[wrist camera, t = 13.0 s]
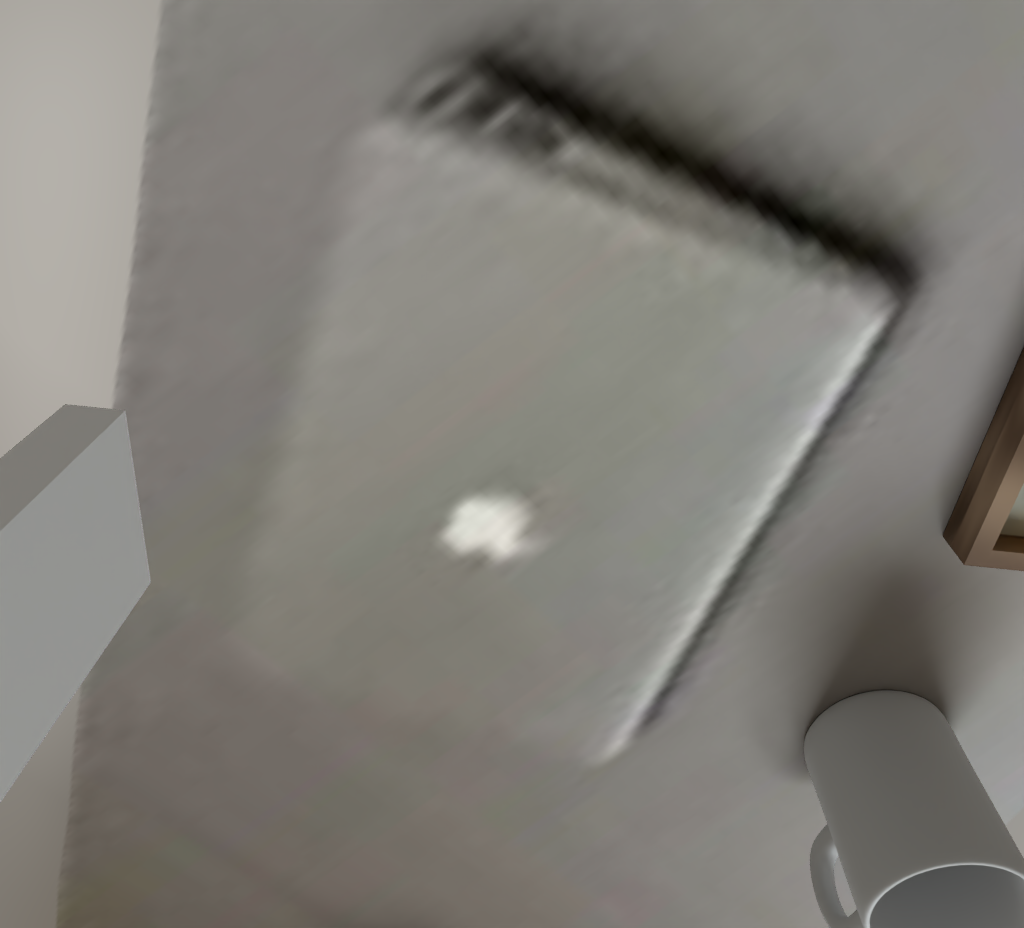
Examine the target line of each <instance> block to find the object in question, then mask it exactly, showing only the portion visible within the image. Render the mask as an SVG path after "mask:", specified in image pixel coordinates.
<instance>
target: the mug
mask: <svg viewBox="0 0 1024 928" xmlns="http://www.w3.org/2000/svg"><path fill="white" fill-rule="evenodd" d="M804 758H805V762H806V765H807V769H808V772H809V774H810V777H811V780H812V782H813V785H814V788H815V790H816V793H817V795H818V798H819V801H820V804H821V807H822V809H823V812H824V815H825V818H826V821H827V825H826V826H825V827H824V828H823V829H822V831H821V832H820V833H819V834H818V836H817V837H816V839H815V840H814V843H813V845H812V848H811V853H810V870H811V878H812V883H813V888H814V892H815V895H816V899H817V902H818V905H819V908H820V910H821V913H822V915H823V917H824V919H825V921H826V923H827V925H828V926H829V928H1024V858H1023V857H1022V855H1021V853H1020V851H1019V850H1018V848H1017V846H1016V844H1015V842H1014V841H1013V839H1012V837H1011V835H1010V834H1009V832H1008V830H1007V828H1006V826H1005V824H1004V823H1003V821H1002V819H1001V817H1000V816H999V814H998V812H997V810H996V808H995V807H994V805H993V803H992V801H991V800H990V798H989V796H988V794H987V792H986V791H985V789H984V787H983V785H982V783H981V782H980V780H979V778H978V776H977V775H976V773H975V771H974V769H973V767H972V766H971V764H970V762H969V760H968V758H967V756H966V755H965V753H964V751H963V749H962V747H961V745H960V743H959V741H958V739H957V737H956V735H955V734H954V732H953V730H952V728H951V726H950V724H949V723H948V721H947V720H946V718H945V717H944V715H943V714H942V713H941V711H940V710H939V709H938V708H937V707H936V706H935V705H933V704H932V703H931V702H929V701H927V700H926V699H924V698H922V697H919V696H917V695H914V694H911V693H907V692H902V691H893V690H881V691H871V692H865V693H861V694H857V695H854V696H851V697H848V698H846V699H844V700H841V701H839V702H838V703H836V704H834V705H832V706H831V707H829V708H828V709H827V710H825V711H824V712H823V713H822V714H821V715H819V716H818V718H817V719H816V720H815V721H814V722H813V724H812V725H811V727H810V728H809V730H808V732H807V734H806V737H805V741H804ZM838 856H839V858H840V861H841V864H842V867H843V870H844V873H845V876H846V879H847V882H848V884H849V887H850V890H851V893H852V896H853V899H854V902H855V905H856V908H857V910H856V911H855V912H854V913H853V914H852V915H850V916H849V917H847V915H846V914H845V912H844V910H843V908H842V906H841V903H840V900H839V898H838V894H837V891H836V886H835V881H834V865H835V861H836V859H837V857H838Z"/></svg>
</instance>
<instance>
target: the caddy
mask: <svg viewBox="0 0 1024 928" xmlns="http://www.w3.org/2000/svg"><path fill="white" fill-rule="evenodd" d="M943 537H944V539H945V540H946V541H947V543H948V544H949V545H950V547H951V548H952V549H953V551H954V552H955V553H956V555H957V556H958V557H959V559H960V560H961V561H962V563H963V564H964V565H970V566H979V567H989V568H999V569H1009V570H1019V571H1024V348H1023V350H1022V353H1021V355H1020V357H1019V360H1018V362H1017V364H1016V367H1015V369H1014V371H1013V374H1012V376H1011V378H1010V381H1009V383H1008V385H1007V388H1006V390H1005V392H1004V395H1003V397H1002V399H1001V402H1000V404H999V406H998V409H997V411H996V413H995V415H994V418H993V420H992V422H991V425H990V427H989V429H988V432H987V434H986V436H985V439H984V441H983V443H982V446H981V448H980V450H979V453H978V455H977V457H976V460H975V462H974V464H973V467H972V469H971V471H970V474H969V476H968V478H967V481H966V483H965V485H964V488H963V490H962V492H961V495H960V497H959V499H958V501H957V504H956V506H955V508H954V511H953V513H952V515H951V518H950V520H949V522H948V525H947V527H946V529H945V532H944V534H943Z"/></svg>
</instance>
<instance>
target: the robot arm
mask: <svg viewBox="0 0 1024 928" xmlns="http://www.w3.org/2000/svg"><path fill="white" fill-rule="evenodd" d="M150 583H151V580H150V573H149V567H148V560H147V553H146V546H145V540H144V533H143V526H142V519H141V513H140V506H139V499H138V492H137V486H136V479H135V472H134V466H133V459H132V452H131V445H130V439H129V432H128V425H127V418H126V412H125V410H116V409H106V408H96V407H87V406H77V405H67V404H65V405H64V406H63V407H62V408H60V409H59V410H58V411H57V412H55V413H54V414H53V415H52V416H51V417H49V418H48V419H47V420H46V421H44V422H43V423H42V424H41V425H40V426H38V427H37V428H36V429H35V430H34V431H32V432H31V433H30V434H29V435H28V436H26V437H25V438H24V439H23V440H22V441H20V442H19V443H18V444H17V445H16V446H14V447H13V448H12V449H11V450H10V451H8V452H7V453H6V454H5V455H4V456H3V457H1V458H0V802H1V800H2V799H3V798H4V796H5V795H6V793H7V792H8V791H9V789H10V788H11V786H12V785H13V783H14V782H15V780H16V779H17V777H18V776H19V774H20V773H21V771H22V770H23V769H24V767H25V766H26V764H27V763H28V761H29V760H30V758H31V757H32V755H33V754H34V753H35V751H36V749H37V748H38V747H39V745H40V744H41V742H42V741H43V739H44V738H45V736H46V735H47V733H48V732H49V731H50V729H51V728H52V726H53V725H54V723H55V722H56V720H57V719H58V717H59V716H60V714H61V713H62V711H63V710H64V709H65V707H66V706H67V704H68V702H69V701H70V700H71V698H72V697H73V695H74V694H75V692H76V691H77V690H78V688H79V687H80V685H81V684H82V682H83V681H84V679H85V678H86V676H87V675H88V673H89V672H90V671H91V669H92V668H93V666H94V665H95V663H96V662H97V660H98V659H99V657H100V656H101V654H102V653H103V651H104V650H105V649H106V647H107V646H108V644H109V643H110V641H111V640H112V638H113V637H114V635H115V634H116V632H117V631H118V630H119V628H120V627H121V625H122V624H123V622H124V621H125V619H126V618H127V616H128V615H129V613H130V612H131V610H132V609H133V608H134V606H135V605H136V603H137V602H138V600H139V599H140V597H141V596H142V594H143V593H144V591H145V590H146V589H147V587H148V586H149V584H150Z"/></svg>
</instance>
